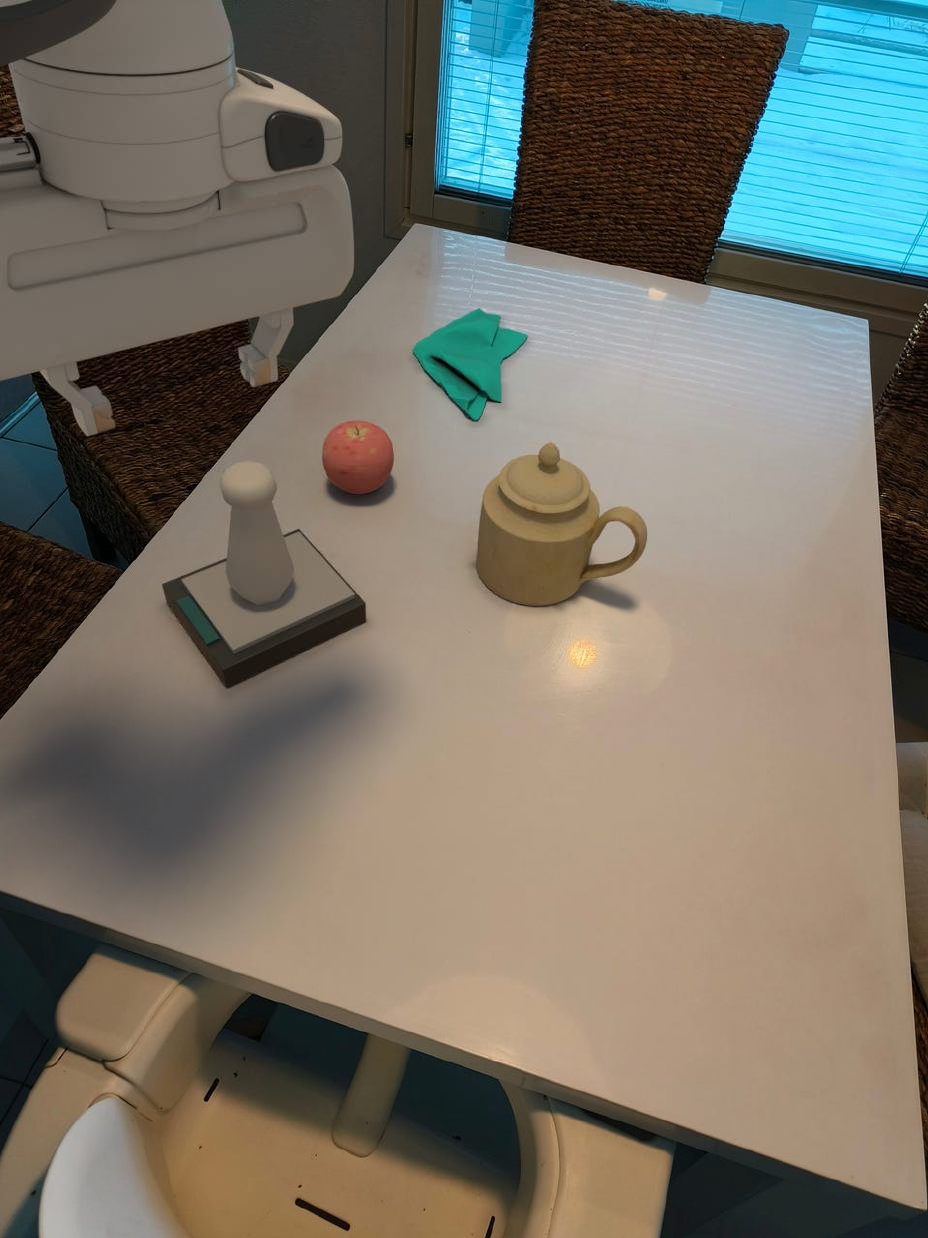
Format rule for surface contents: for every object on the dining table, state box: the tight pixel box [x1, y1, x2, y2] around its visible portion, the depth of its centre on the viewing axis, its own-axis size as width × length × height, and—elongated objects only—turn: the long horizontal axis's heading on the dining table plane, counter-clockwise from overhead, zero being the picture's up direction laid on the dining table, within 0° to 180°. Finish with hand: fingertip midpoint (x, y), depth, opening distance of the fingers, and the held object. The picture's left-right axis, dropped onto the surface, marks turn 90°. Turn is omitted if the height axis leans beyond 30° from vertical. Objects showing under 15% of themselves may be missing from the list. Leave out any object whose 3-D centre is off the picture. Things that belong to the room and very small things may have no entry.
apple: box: [321, 419, 395, 495], centre depth 89 cm, size 7×7×8 cm
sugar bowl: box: [475, 441, 648, 607], centre depth 79 cm, size 15×11×15 cm
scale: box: [161, 528, 367, 689], centre depth 77 cm, size 14×12×3 cm
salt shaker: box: [219, 460, 294, 606], centre depth 71 cm, size 6×6×13 cm
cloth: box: [412, 307, 529, 421], centre depth 110 cm, size 26×14×2 cm, turn 164°
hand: (182, 402), depth 46 cm, fingers open, 8 cm apart
